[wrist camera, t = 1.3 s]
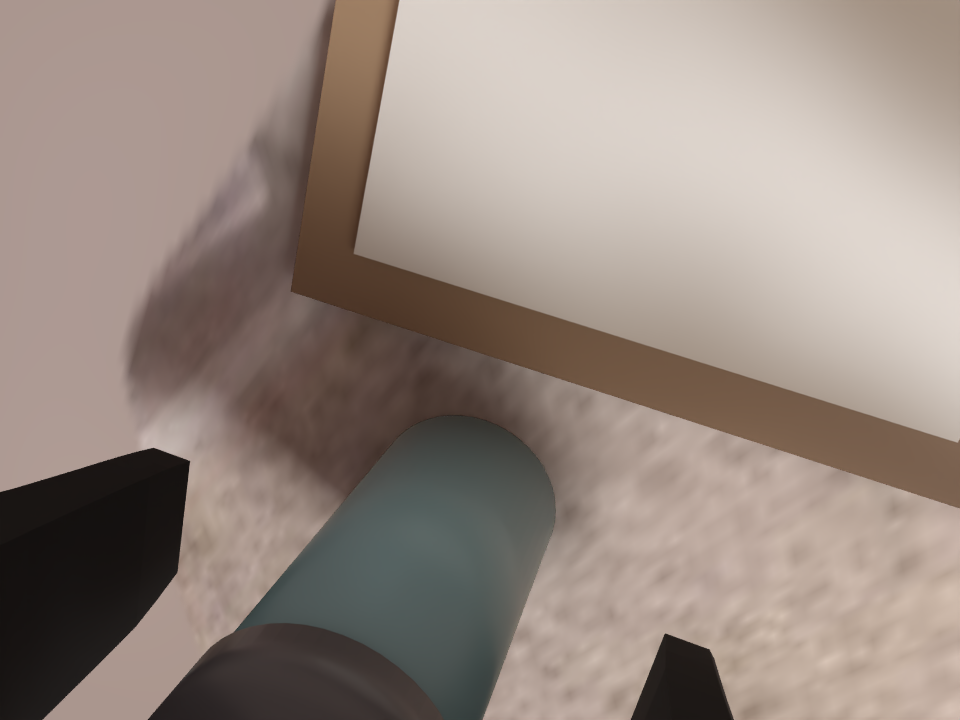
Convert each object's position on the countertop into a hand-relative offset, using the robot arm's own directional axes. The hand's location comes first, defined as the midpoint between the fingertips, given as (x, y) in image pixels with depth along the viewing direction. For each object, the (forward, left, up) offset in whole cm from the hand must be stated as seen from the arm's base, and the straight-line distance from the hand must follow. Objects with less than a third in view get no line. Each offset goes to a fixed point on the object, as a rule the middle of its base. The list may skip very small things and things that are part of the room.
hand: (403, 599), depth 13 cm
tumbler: (0, 0, -3) cm, 3 cm away
